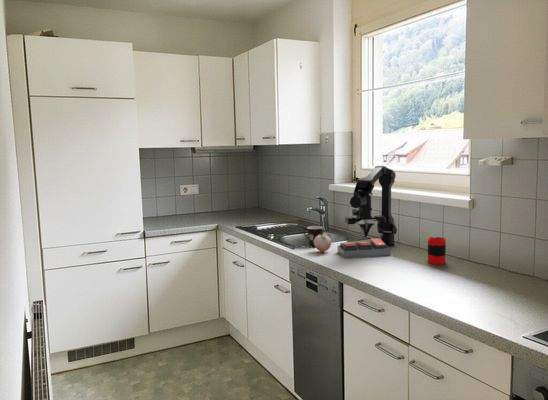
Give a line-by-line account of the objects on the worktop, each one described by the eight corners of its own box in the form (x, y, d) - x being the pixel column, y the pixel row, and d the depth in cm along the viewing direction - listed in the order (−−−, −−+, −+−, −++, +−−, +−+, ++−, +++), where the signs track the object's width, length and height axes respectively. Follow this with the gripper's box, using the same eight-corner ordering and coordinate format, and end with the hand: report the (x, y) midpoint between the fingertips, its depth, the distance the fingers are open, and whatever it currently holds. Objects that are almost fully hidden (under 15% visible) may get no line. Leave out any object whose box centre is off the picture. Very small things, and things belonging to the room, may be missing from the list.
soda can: (430, 265, 208) (430, 238, 206) (425, 260, 215) (425, 235, 214) (447, 264, 208) (448, 238, 206) (442, 260, 215) (442, 234, 213)
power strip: (381, 249, 238) (381, 240, 237) (390, 255, 226) (390, 245, 226) (337, 252, 235) (337, 242, 235) (344, 258, 223) (344, 248, 223)
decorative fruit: (334, 253, 234) (334, 233, 232) (320, 255, 230) (320, 235, 229) (325, 249, 242) (324, 230, 241) (311, 251, 239) (310, 232, 237)
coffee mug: (326, 246, 248) (326, 228, 247) (311, 248, 245) (311, 229, 244) (316, 242, 259) (316, 224, 257) (302, 244, 256) (302, 226, 254)
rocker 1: (350, 245, 233) (350, 242, 233) (355, 245, 225) (355, 243, 226) (342, 245, 233) (341, 242, 233) (346, 246, 225) (346, 243, 225)
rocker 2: (379, 240, 235) (379, 238, 235) (385, 246, 228) (385, 244, 227) (371, 241, 235) (371, 238, 234) (376, 247, 227) (376, 244, 227)
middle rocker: (365, 244, 234) (365, 241, 234) (370, 244, 226) (370, 242, 226) (356, 244, 234) (356, 242, 234) (361, 245, 226) (361, 242, 226)
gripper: (377, 202, 234) (378, 232, 236) (341, 204, 232) (342, 234, 234) (386, 205, 223) (386, 237, 225) (348, 207, 221) (348, 239, 223)
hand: (365, 237), depth 227 cm, fingers closed
